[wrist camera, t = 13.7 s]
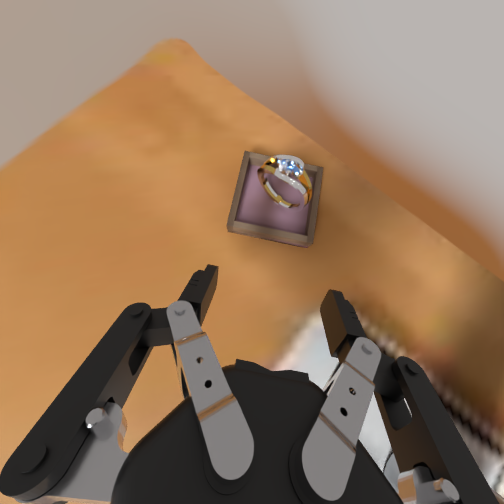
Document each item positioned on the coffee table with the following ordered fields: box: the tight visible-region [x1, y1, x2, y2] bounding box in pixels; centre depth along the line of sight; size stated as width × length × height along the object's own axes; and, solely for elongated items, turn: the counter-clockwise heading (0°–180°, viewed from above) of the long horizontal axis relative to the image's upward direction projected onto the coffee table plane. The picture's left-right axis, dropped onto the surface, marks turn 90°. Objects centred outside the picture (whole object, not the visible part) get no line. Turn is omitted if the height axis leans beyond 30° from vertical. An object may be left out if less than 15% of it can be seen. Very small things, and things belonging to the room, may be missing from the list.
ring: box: [257, 155, 312, 212], centre depth 23 cm, size 7×3×8 cm, turn 46°
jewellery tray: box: [227, 151, 323, 248], centre depth 26 cm, size 11×11×2 cm
